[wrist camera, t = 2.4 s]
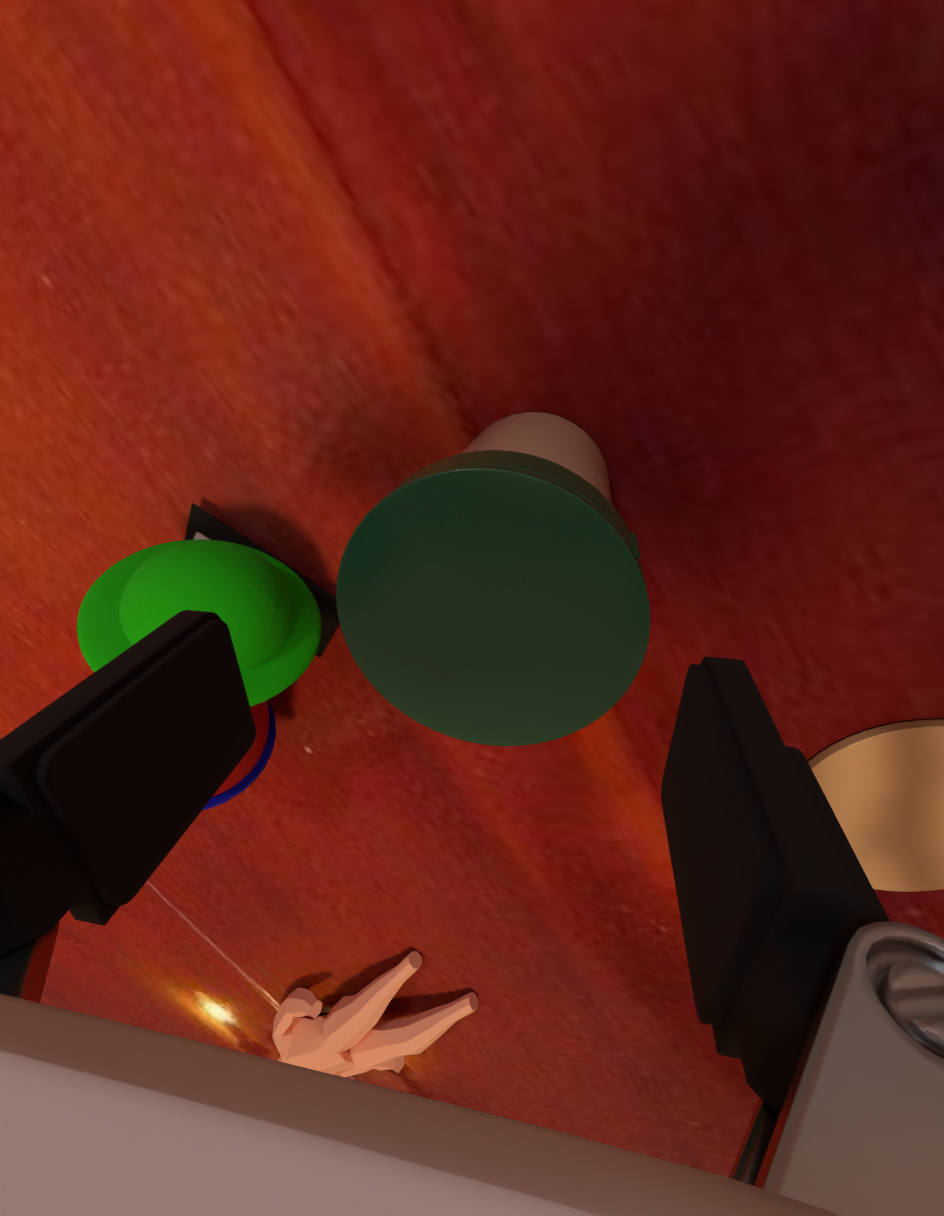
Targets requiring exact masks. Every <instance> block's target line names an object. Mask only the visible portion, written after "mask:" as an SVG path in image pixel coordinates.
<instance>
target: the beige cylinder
mask: <svg viewBox="0 0 944 1216" xmlns="http://www.w3.org/2000/svg"><path fill="white" fill-rule="evenodd" d="M482 450H504V451H514V452H521V453H525V454H529V455H534V456H538V457H541V458H544V459H546V460H549V461H552V462H554V463H557V464H559V465H561V466H563V467H565V468H567V469H569V470H570V471H572V472H574V473H576V474H578V475H579V476H581V477H582V478H583V479H585V480H586V481H587V482H589V483H590V484H591V485H593V486H594V487H595V488H596V489H597V490H598V491H599V492H600V493H601V494H602V495H603V496H605V497H606V498H607V499H608V500H609V501H610V503H611V504H612V497H611V489H610V481H609V474H608V470H607V466H606V463H605V460H604V458H603V455H602V454H601V452H600V450H599V448H598V446H597V445H596V444H595V442H594V441H593V440H592V438H591V437H590V436H589V435H588V434H587V433H586V432H585V431H583V430H582V429H581V428H579V427H578V426H577V425H575V424H574V423H572V422H570V421H568V420H567V419H564V418H562V417H559V416H556V415H552V414H548V413H541V412H524V413H519V414H514V415H511V416H508V417H505V418H502V419H500V420H498V421H496V422H494V423H493V424H491V425H490V426H488V427H487V428H485V429H484V430H483V431H482V432H481V433H480V434H479V435H478V436H477V437H476V438H475V439H474V440H473V441H472V442H471V443H470V444H469V445H468V446H467V447H466V448H465V449H464V450H463V451H462V452H461V453H467V452H472V451H482ZM461 453H460V454H461Z"/></svg>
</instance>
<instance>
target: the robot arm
mask: <svg viewBox="0 0 944 1216" xmlns="http://www.w3.org/2000/svg"><path fill="white" fill-rule="evenodd" d="M255 737H256V726H255V722H254V719H253V715H252V712H251V708H250V704H249V701H248V697H247V693H246V690H245V686H244V682H243V679H242V675H241V671H240V668H239V664H238V660H237V657H236V653H235V649H234V646H233V642H232V638H231V635H230V631H229V628H228V625H227V624H226V623H225V622H224V621H222V620H221V618H220V617H219V616H218V615H217V614H216V613H214V612H204V611H193V610H183V611H181V612H179V613H177V614H176V615H174V616H173V617H172V618H170V619H169V620H167V621H166V622H165V623H163V624H162V625H160V626H159V627H158V628H156V629H155V630H153V631H152V632H151V633H149V634H148V635H146V636H145V637H144V638H142V639H141V640H139V641H138V642H137V643H135V644H134V645H132V646H131V647H130V648H128V649H127V650H125V651H124V652H123V653H121V654H120V655H118V656H117V657H116V658H114V659H113V660H111V661H110V662H109V663H107V664H106V665H104V666H103V667H102V668H100V669H99V670H97V671H96V672H95V673H93V674H92V675H90V676H89V677H88V678H86V679H85V680H83V681H82V682H81V683H79V684H78V685H76V686H75V687H74V688H72V689H71V690H69V691H68V692H67V693H65V694H64V695H62V696H61V697H60V698H58V699H57V700H55V701H54V702H53V703H51V704H50V705H48V706H47V707H46V708H44V709H43V710H41V711H40V712H39V713H37V714H36V715H34V716H33V717H32V718H30V719H29V720H27V721H26V722H25V723H23V724H22V725H20V726H19V727H18V728H16V729H15V730H13V731H12V732H11V733H9V734H8V735H6V736H5V737H4V738H2V739H1V740H0V1216H944V939H942V938H940V937H938V936H936V935H934V934H932V933H930V932H928V931H926V930H923V929H921V928H918V927H914V926H910V925H906V924H903V923H899V922H890V921H889V919H888V917H887V915H886V913H885V911H884V909H883V907H882V905H881V903H880V901H879V899H878V897H877V895H876V893H875V891H874V889H873V888H872V886H871V884H870V882H869V880H868V878H867V876H866V874H865V872H864V870H863V868H862V866H861V864H860V862H859V860H858V858H857V856H856V854H855V853H854V851H853V849H852V847H851V845H850V843H849V841H848V839H847V837H846V835H845V833H844V831H843V829H842V827H841V825H840V823H839V821H838V820H837V818H836V816H835V814H834V812H833V810H832V808H831V806H830V804H829V802H828V800H827V798H826V796H825V794H824V792H823V790H822V788H821V786H820V785H819V783H818V781H817V779H816V777H815V775H814V773H813V771H812V769H811V767H810V765H809V763H808V761H807V759H806V758H805V756H804V755H803V754H802V752H801V751H800V750H798V749H796V748H794V747H786V746H785V745H784V743H783V741H782V739H781V736H780V734H779V732H778V730H777V728H776V726H775V724H774V722H773V720H772V718H771V716H770V714H769V711H768V709H767V707H766V705H765V703H764V701H763V699H762V697H761V695H760V693H759V691H758V689H757V686H756V684H755V682H754V680H753V678H752V676H751V674H750V672H749V670H748V668H747V666H746V664H745V662H744V661H743V660H738V659H727V658H716V657H704V658H703V660H702V662H701V664H700V665H696V664H691V665H690V666H689V668H688V672H687V676H686V680H685V684H684V689H683V693H682V697H681V702H680V706H679V710H678V715H677V719H676V723H675V728H674V732H673V736H672V741H671V745H670V749H669V753H668V758H667V762H666V766H665V771H664V775H663V779H662V787H661V800H662V807H663V813H664V819H665V825H666V831H667V837H668V843H669V849H670V855H671V861H672V868H673V874H674V880H675V886H676V892H677V898H678V904H679V910H680V916H681V922H682V928H683V934H684V940H685V946H686V952H687V958H688V964H689V970H690V976H691V982H692V988H693V994H694V1000H695V1006H696V1011H697V1015H698V1018H699V1020H700V1021H701V1023H705V1024H710V1025H712V1026H713V1032H714V1037H715V1043H716V1048H717V1054H719V1055H724V1056H729V1057H734V1058H738V1059H742V1064H743V1068H744V1073H745V1078H746V1082H747V1084H748V1085H749V1086H750V1087H751V1088H752V1089H753V1091H754V1092H755V1093H756V1094H757V1095H758V1096H759V1097H760V1099H759V1101H758V1104H757V1106H756V1109H755V1111H754V1114H753V1116H752V1119H751V1122H750V1124H749V1127H748V1129H747V1132H746V1134H745V1137H744V1139H743V1142H742V1144H741V1147H740V1150H739V1152H738V1155H737V1157H736V1160H735V1162H734V1165H733V1167H732V1170H731V1172H730V1175H729V1178H728V1177H725V1176H721V1175H718V1174H714V1173H710V1172H707V1171H703V1170H699V1169H696V1168H692V1167H688V1166H685V1165H681V1164H677V1163H674V1162H670V1161H666V1160H663V1159H659V1158H655V1157H651V1156H648V1155H644V1154H640V1153H637V1152H633V1151H629V1150H626V1149H622V1148H618V1147H615V1146H611V1145H607V1144H604V1143H600V1142H596V1141H593V1140H589V1139H585V1138H582V1137H578V1136H574V1135H570V1134H567V1133H563V1132H559V1131H556V1130H552V1129H548V1128H544V1127H540V1126H536V1125H532V1124H528V1123H524V1122H520V1121H516V1120H512V1119H508V1118H504V1117H500V1116H496V1115H492V1114H488V1113H484V1112H480V1111H476V1110H472V1109H468V1108H464V1107H460V1106H456V1105H452V1104H448V1103H444V1102H440V1101H436V1100H432V1099H428V1098H424V1097H420V1096H416V1095H412V1094H408V1093H404V1092H400V1091H396V1090H392V1089H388V1088H384V1087H380V1086H376V1085H372V1084H368V1083H364V1082H360V1081H356V1080H352V1079H348V1078H344V1077H340V1076H336V1075H332V1074H328V1073H324V1072H320V1071H316V1070H312V1069H308V1068H304V1067H300V1066H296V1065H292V1064H288V1063H284V1062H280V1061H276V1060H272V1059H267V1058H263V1057H259V1056H255V1055H251V1054H247V1053H243V1052H239V1051H235V1050H231V1049H227V1048H223V1047H218V1046H214V1045H210V1044H206V1043H202V1042H198V1041H194V1040H190V1039H186V1038H182V1037H178V1036H173V1035H169V1034H165V1033H161V1032H157V1031H153V1030H149V1029H145V1028H141V1027H137V1026H132V1025H128V1024H124V1023H120V1022H116V1021H112V1020H108V1019H104V1018H100V1017H95V1016H91V1015H87V1014H83V1013H79V1012H75V1011H71V1010H67V1009H62V1008H58V1007H54V1006H50V1005H46V1004H41V1003H40V1000H41V996H42V992H43V988H44V984H45V980H46V976H47V973H48V969H49V965H50V961H51V957H52V953H53V949H54V945H55V941H56V937H57V933H58V929H59V920H60V919H61V918H62V917H63V916H64V915H65V914H66V912H67V911H68V910H70V912H71V913H72V915H73V917H74V918H75V919H76V920H80V921H85V922H90V923H95V924H99V925H104V926H105V925H106V923H107V922H108V921H109V920H110V918H111V917H112V916H113V915H114V913H115V912H116V911H117V910H118V908H119V907H120V906H121V905H124V904H126V903H128V902H129V901H130V900H131V899H132V898H133V897H134V896H135V895H136V894H137V893H138V891H139V890H140V889H141V888H142V886H143V885H144V884H145V882H146V881H147V880H148V879H149V877H150V876H151V875H152V873H153V872H154V871H155V870H156V868H157V867H158V866H159V865H160V863H161V862H162V861H163V859H164V858H165V857H166V856H167V854H168V853H169V852H170V850H171V849H172V848H173V847H174V845H175V844H176V843H177V842H178V840H179V839H180V838H181V836H182V835H183V834H184V833H185V831H186V830H187V829H188V827H189V826H190V825H191V824H192V822H193V821H194V820H195V819H196V817H197V816H198V815H199V813H200V812H201V811H202V810H203V808H204V807H205V806H206V804H207V803H208V802H209V801H210V799H211V798H212V797H213V796H214V794H215V793H216V792H217V790H218V789H219V788H220V787H221V785H222V784H223V783H224V781H225V780H226V779H227V778H228V776H229V775H230V774H231V773H232V771H233V770H234V769H235V767H236V766H237V765H238V764H239V762H240V761H241V760H242V758H243V757H244V756H245V755H246V753H247V752H248V751H249V750H250V748H251V747H252V745H253V743H254V741H255Z"/></svg>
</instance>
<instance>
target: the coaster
mask: <svg viewBox="0 0 944 1216" xmlns="http://www.w3.org/2000/svg"><path fill="white" fill-rule="evenodd" d="M808 763H809V765H810V767H811V769H812V771H813V773H814V775H815V777H816V779H817V781H818V783H819V785H820V786H821V788H822V790H823V792H824V794H825V796H826V798H827V800H828V802H829V804H830V806H831V808H832V810H833V812H834V814H835V816H836V818H837V820H838V821H839V823H840V825H841V827H842V829H843V831H844V833H845V835H846V837H847V839H848V841H849V843H850V845H851V847H852V849H853V851H854V853H855V854H856V856H857V858H858V860H859V862H860V864H861V866H862V868H863V870H864V872H865V874H866V876H867V878H868V880H869V882H870V884H871V886H872V888H873V889H879V890H887V891H905V892H907V891H929V890H940V889H944V720H941V719H940V720H917V721H908V722H900V723H895V724H890V725H884V726H880V727H877V728H873V729H870V730H866V731H863V732H861V733H858V734H855V735H853V736H850V737H848V738H846V739H843V740H841V741H839V742H837V743H835V744H833V745H832V746H830V747H828V748H827V749H825V750H824V751H822V752H820V753H819V754H818V755H816V756H815V757H814V758H812V759H811V760H810V761H809V762H808Z"/></svg>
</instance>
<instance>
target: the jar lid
mask: <svg viewBox="0 0 944 1216" xmlns="http://www.w3.org/2000/svg"><path fill="white" fill-rule="evenodd" d="M639 556H640V551H639V547H638V542H637V538H636V534H635V532H633V533H630V531H629V529H628V527H627V525H626V524H625V522H624V520H623V518H622V517H621V516H620V514H619V513H618V512H617V510H616V509H615V508H614V506H613V505H612V504H611V503H610V501H609V500H608V499H607V498H606V497H605V496H603V495H602V494H601V493H600V492H599V491H598V490H597V489H596V488H595V487H594V486H593V485H591V484H590V483H589V482H587V481H586V480H585V479H583V478H582V477H581V476H579V475H578V474H576V473H574V472H572V471H570V470H569V469H567V468H565V467H563V466H561V465H559V464H557V463H554V462H552V461H549V460H546V459H544V458H541V457H538V456H534V455H529V454H525V453H521V452H514V451H504V450H482V451H472V452H467V453H461V454H456V455H453V456H450V457H447V458H444V459H441V460H438V461H436V462H434V463H432V464H430V465H428V466H426V467H424V468H422V469H420V470H419V471H417V472H416V473H414V474H413V475H411V476H410V477H408V478H407V479H406V480H404V481H403V482H402V483H401V484H400V485H398V486H397V487H396V488H395V489H394V490H393V491H391V492H390V493H389V494H388V495H387V496H386V497H384V498H383V499H382V500H381V501H380V502H379V503H378V504H377V505H376V506H374V507H373V508H372V509H371V510H370V511H369V512H368V513H367V514H366V516H365V517H364V518H363V520H362V521H361V522H360V523H359V525H358V526H357V527H356V529H355V531H354V532H353V534H352V536H351V538H350V539H349V541H348V543H347V545H346V548H345V551H344V553H343V556H342V559H341V562H340V567H339V572H338V577H337V592H336V599H337V610H338V617H339V621H340V625H341V630H342V633H343V635H344V638H345V641H346V644H347V646H348V648H349V650H350V652H351V654H352V656H353V658H354V660H355V662H356V663H357V665H358V666H359V668H360V670H361V671H362V673H363V674H364V676H365V677H366V678H367V679H368V680H369V682H370V683H371V684H372V685H373V686H374V688H375V689H376V690H377V691H378V692H379V693H380V694H381V695H382V696H383V697H384V698H385V699H386V700H387V701H389V702H390V703H391V704H392V705H394V706H395V707H396V708H397V709H399V710H400V711H401V712H403V713H404V714H406V715H407V716H409V717H410V718H412V719H413V720H415V721H417V722H418V723H420V724H422V725H424V726H426V727H428V728H430V729H432V730H434V731H437V732H440V733H442V734H445V735H447V736H450V737H453V738H457V739H460V740H464V741H467V742H473V743H478V744H484V745H495V746H522V745H530V744H538V743H542V742H547V741H551V740H555V739H558V738H561V737H564V736H566V735H569V734H572V733H574V732H576V731H578V730H580V729H582V728H584V727H586V726H588V725H589V724H591V723H592V722H594V721H595V720H597V719H598V718H600V717H601V716H603V715H604V714H605V713H606V712H607V711H608V710H609V709H611V708H612V707H613V706H614V705H615V704H616V703H617V702H618V701H619V699H620V698H621V697H622V696H623V695H624V694H625V692H626V691H627V690H628V688H629V687H630V685H631V684H632V682H633V680H634V679H635V677H636V676H637V673H638V671H639V669H640V667H641V664H642V662H643V660H644V657H645V653H646V649H647V645H648V641H649V632H650V606H649V599H648V594H647V590H646V585H645V580H644V576H643V571H642V566H641V562H640V557H639Z"/></svg>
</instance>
